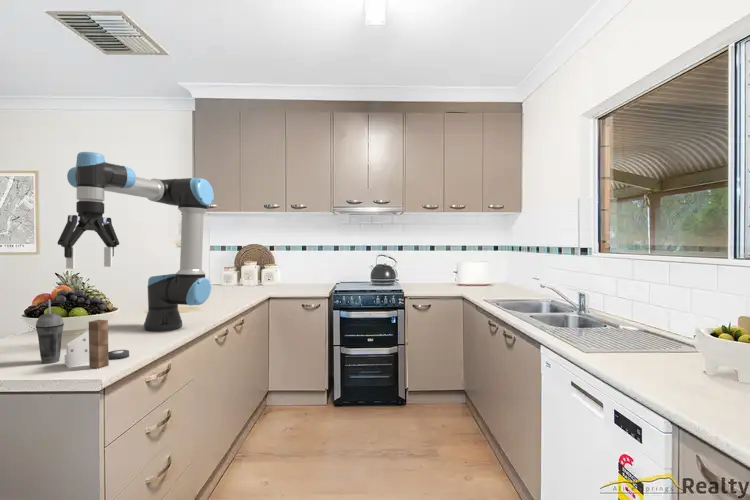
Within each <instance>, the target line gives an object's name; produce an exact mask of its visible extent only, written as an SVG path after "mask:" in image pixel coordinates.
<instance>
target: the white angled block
mask: <svg viewBox="0 0 750 500" xmlns="http://www.w3.org/2000/svg"><path fill="white" fill-rule="evenodd" d="M65 348H66V351H65V353H66V354H64V366H65V365H66V367H67V368H72V367H76V366H77V365H78V366H83V365H88V364H87V363H89V330H86V331H85V332H84V333H82V334H80V335H78V336H77V337H76V338H74V339H73V340H71V341H69V342H68V343H66V344H65ZM82 364H83V365H82Z"/></svg>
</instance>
